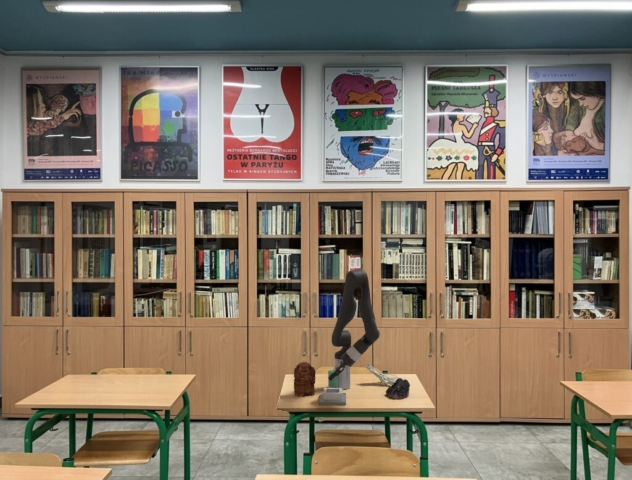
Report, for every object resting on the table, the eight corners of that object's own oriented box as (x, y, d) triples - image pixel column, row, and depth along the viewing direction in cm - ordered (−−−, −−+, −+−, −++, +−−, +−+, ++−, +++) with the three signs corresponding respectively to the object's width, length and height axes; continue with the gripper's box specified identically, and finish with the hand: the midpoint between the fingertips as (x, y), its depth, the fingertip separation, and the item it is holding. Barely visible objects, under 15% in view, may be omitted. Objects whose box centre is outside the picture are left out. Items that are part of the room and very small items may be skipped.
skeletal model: (408, 388, 289) (376, 358, 289) (397, 399, 289) (365, 370, 290) (404, 380, 305) (374, 352, 305) (394, 391, 305) (364, 363, 306)
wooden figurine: (295, 396, 272) (294, 364, 272) (293, 393, 278) (293, 361, 278) (316, 395, 274) (316, 363, 274) (314, 392, 280) (314, 360, 280)
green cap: (328, 384, 268) (328, 369, 269) (337, 384, 268) (337, 369, 268) (328, 387, 264) (328, 372, 264) (337, 387, 263) (337, 372, 263)
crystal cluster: (385, 400, 268) (386, 382, 267) (385, 390, 281) (386, 373, 281) (410, 402, 266) (411, 385, 266) (408, 393, 280) (410, 376, 279)
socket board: (320, 395, 275) (320, 386, 275) (345, 395, 274) (345, 386, 274) (319, 404, 258) (319, 395, 258) (346, 405, 257) (345, 395, 257)
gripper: (346, 348, 273) (325, 370, 273) (346, 353, 259) (323, 376, 259) (356, 358, 273) (334, 379, 273) (356, 363, 258) (334, 386, 259)
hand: (329, 378), depth 266 cm, fingers closed on green cap, 5 cm apart
